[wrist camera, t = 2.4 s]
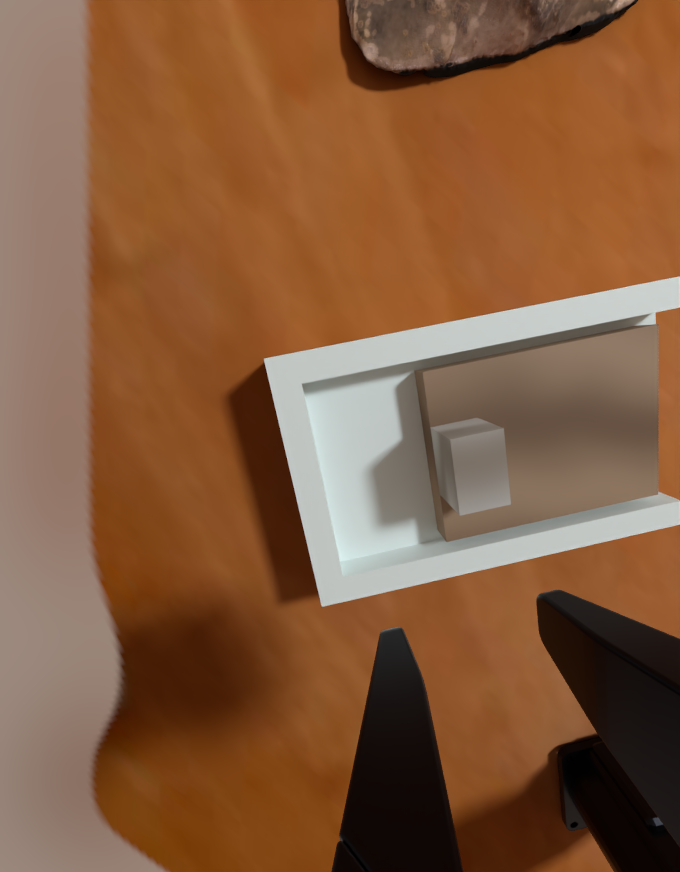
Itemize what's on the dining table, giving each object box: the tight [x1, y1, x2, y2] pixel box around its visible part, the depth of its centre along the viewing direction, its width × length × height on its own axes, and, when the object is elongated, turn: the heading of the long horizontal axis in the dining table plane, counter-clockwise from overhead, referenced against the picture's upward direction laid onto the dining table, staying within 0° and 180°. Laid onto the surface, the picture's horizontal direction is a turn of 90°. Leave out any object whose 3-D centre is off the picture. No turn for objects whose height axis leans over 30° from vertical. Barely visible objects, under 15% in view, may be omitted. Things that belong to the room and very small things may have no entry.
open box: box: [264, 277, 680, 607], centre depth 18 cm, size 11×17×3 cm, turn 101°
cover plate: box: [414, 324, 658, 542], centre depth 16 cm, size 8×10×3 cm
